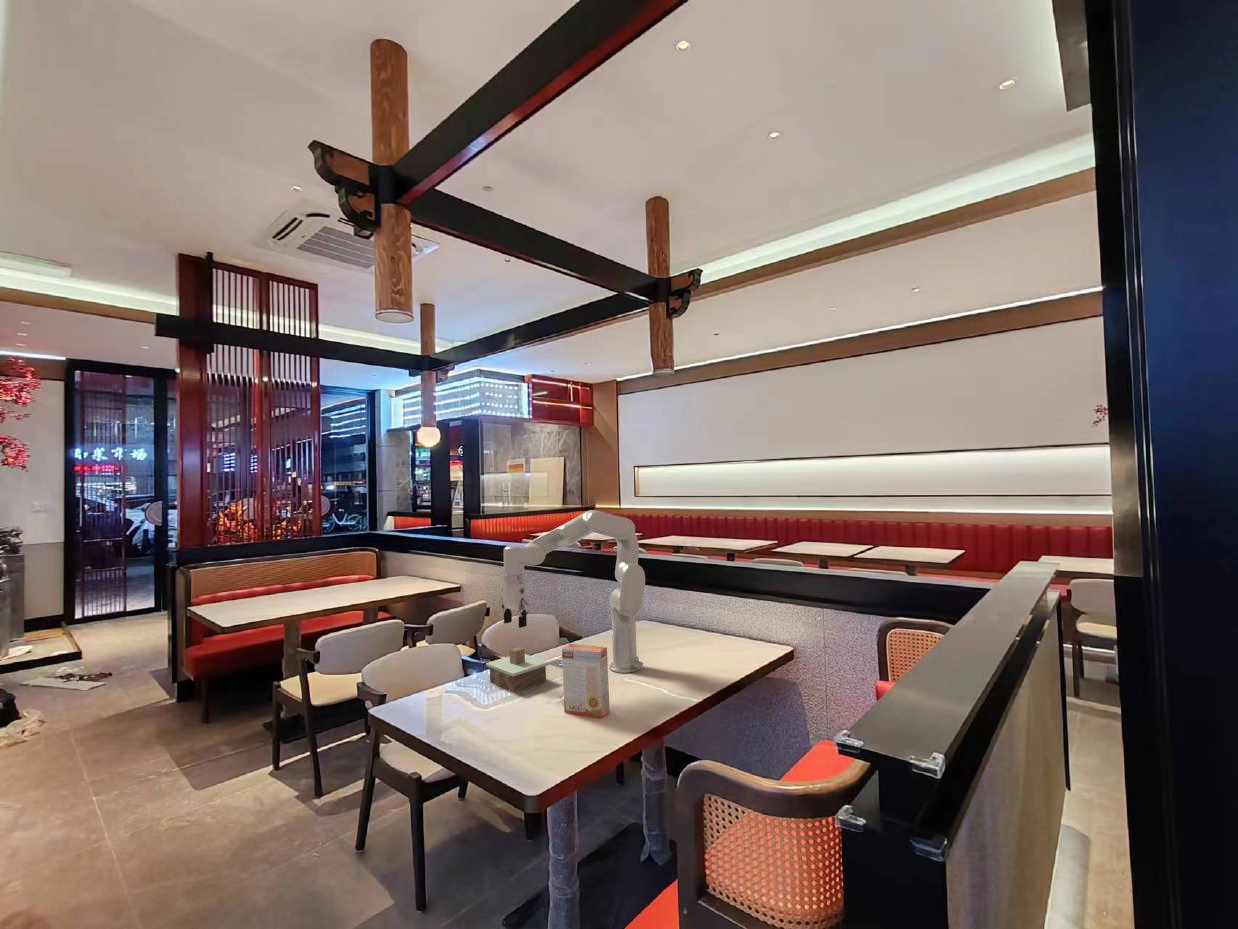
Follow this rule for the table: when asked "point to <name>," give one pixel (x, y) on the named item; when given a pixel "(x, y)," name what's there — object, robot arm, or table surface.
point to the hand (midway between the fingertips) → (515, 624)
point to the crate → (518, 679)
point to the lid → (517, 663)
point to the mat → (556, 663)
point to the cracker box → (585, 680)
